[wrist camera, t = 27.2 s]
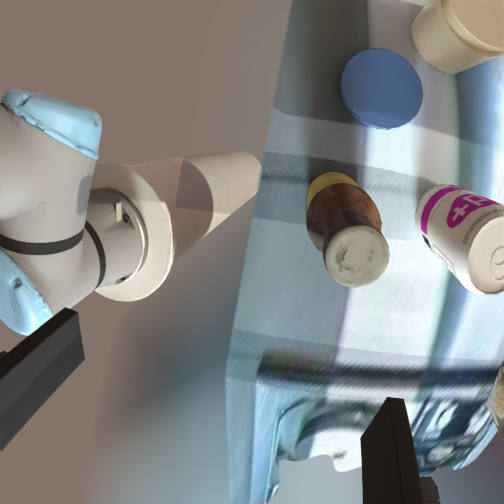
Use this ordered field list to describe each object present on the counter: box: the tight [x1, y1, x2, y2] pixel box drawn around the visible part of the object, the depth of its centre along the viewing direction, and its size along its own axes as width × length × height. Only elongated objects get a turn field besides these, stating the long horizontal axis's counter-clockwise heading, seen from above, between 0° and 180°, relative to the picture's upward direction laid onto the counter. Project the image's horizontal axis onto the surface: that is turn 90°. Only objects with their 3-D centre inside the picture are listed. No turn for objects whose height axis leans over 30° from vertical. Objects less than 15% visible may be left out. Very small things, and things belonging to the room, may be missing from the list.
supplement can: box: [415, 184, 504, 295], centre depth 27 cm, size 8×8×15 cm
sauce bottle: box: [306, 172, 390, 287], centre depth 27 cm, size 6×6×20 cm
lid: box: [339, 49, 423, 130], centre depth 30 cm, size 10×10×2 cm
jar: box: [411, 0, 504, 74], centre depth 21 cm, size 9×9×12 cm
